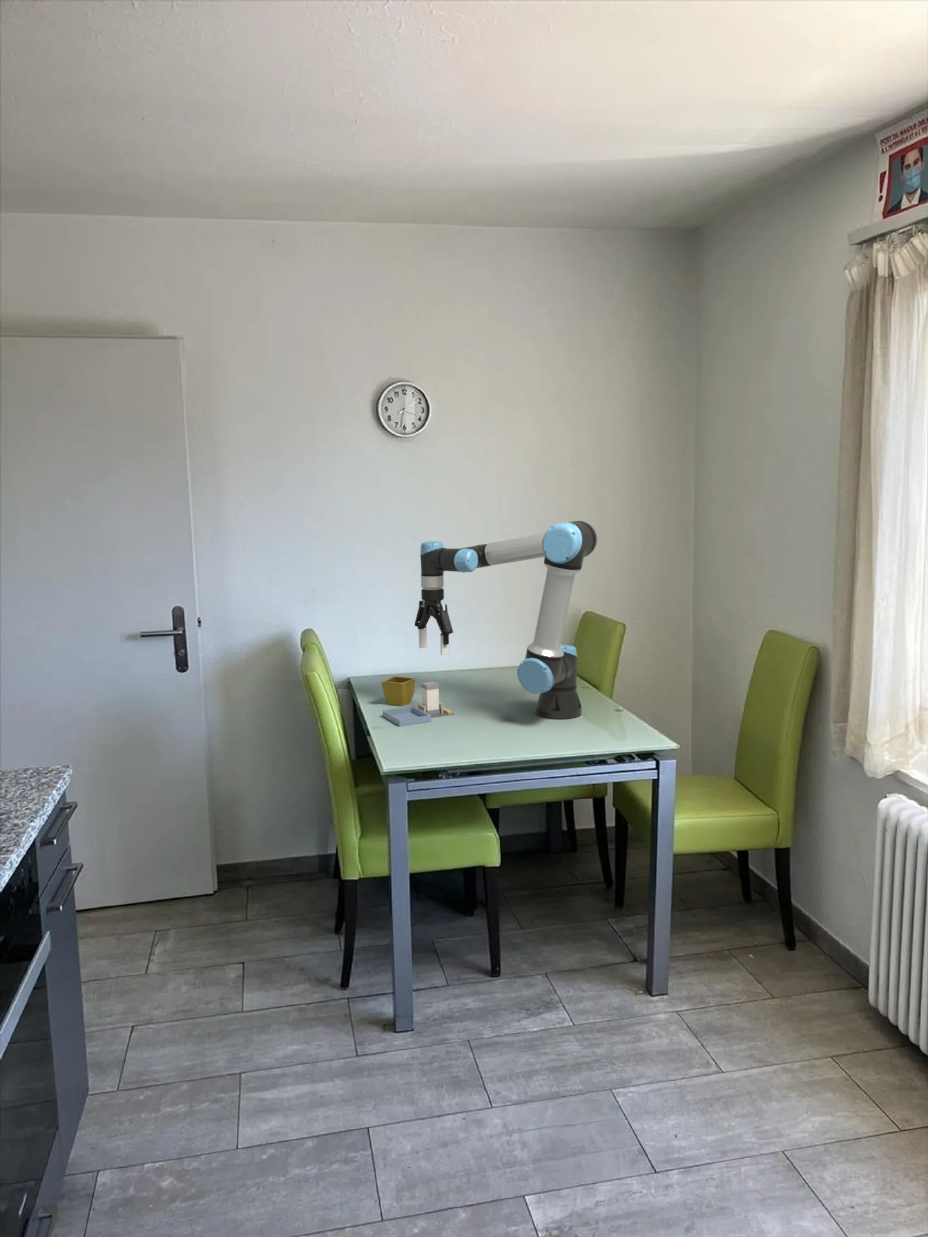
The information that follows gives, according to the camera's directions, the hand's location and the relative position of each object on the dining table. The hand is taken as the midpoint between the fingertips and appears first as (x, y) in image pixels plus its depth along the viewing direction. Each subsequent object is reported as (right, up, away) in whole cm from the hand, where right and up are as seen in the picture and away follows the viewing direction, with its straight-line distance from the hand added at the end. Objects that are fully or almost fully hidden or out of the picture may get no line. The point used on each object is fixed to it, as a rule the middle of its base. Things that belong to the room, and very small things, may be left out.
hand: (433, 650), depth 306 cm
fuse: (-1, -20, -3) cm, 21 cm away
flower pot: (-12, -19, +10) cm, 25 cm away
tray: (-8, -22, -10) cm, 26 cm away
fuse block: (0, -21, -3) cm, 21 cm away
